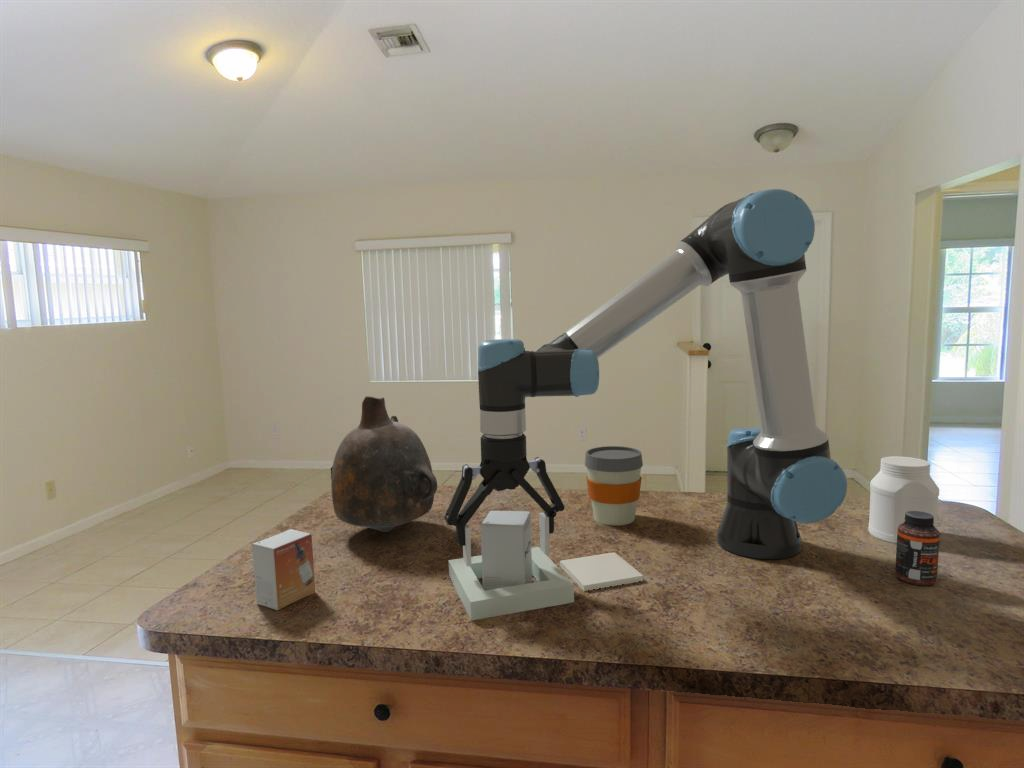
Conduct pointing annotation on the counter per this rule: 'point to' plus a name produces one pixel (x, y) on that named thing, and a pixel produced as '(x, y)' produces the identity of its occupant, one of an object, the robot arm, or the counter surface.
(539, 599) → the holder
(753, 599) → the counter surface
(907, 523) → the supplement bottle
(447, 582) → the counter surface
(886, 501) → the jar
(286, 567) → the small box
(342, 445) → the jug
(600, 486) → the reusable coffee cup
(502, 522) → the supplement box
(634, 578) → the tile
